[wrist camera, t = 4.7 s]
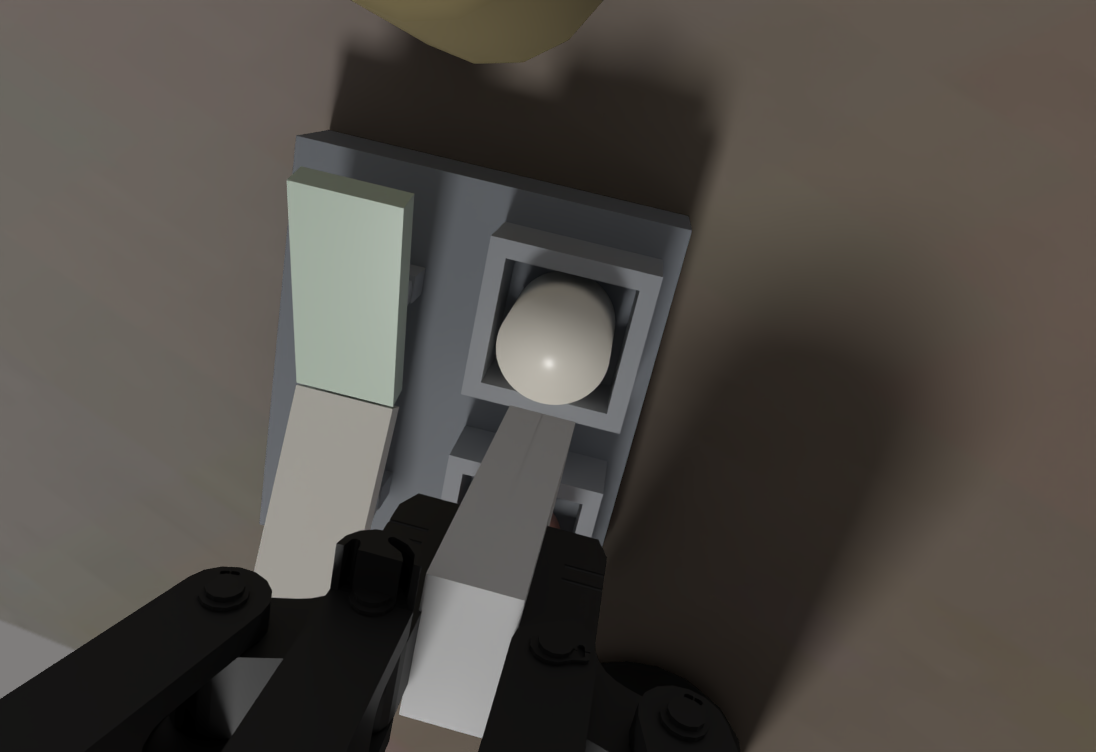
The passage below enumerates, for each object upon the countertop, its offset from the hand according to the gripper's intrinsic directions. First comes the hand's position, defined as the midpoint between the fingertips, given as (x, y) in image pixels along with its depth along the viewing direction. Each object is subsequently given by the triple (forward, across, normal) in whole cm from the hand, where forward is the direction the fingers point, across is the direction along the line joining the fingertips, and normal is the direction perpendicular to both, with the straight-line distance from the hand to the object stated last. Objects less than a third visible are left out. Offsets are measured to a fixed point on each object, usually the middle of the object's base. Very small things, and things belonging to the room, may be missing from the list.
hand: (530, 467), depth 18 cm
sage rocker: (+10, +8, 0) cm, 12 cm away
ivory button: (+11, +1, 0) cm, 11 cm away
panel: (+15, +4, +4) cm, 16 cm away
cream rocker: (+10, +8, +8) cm, 15 cm away
